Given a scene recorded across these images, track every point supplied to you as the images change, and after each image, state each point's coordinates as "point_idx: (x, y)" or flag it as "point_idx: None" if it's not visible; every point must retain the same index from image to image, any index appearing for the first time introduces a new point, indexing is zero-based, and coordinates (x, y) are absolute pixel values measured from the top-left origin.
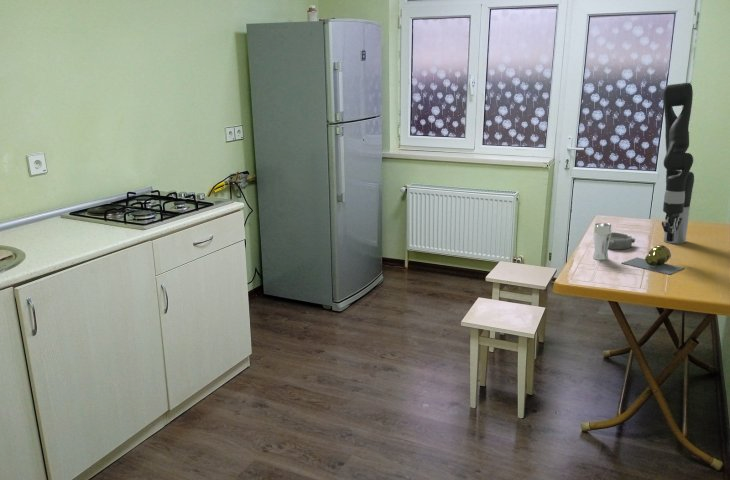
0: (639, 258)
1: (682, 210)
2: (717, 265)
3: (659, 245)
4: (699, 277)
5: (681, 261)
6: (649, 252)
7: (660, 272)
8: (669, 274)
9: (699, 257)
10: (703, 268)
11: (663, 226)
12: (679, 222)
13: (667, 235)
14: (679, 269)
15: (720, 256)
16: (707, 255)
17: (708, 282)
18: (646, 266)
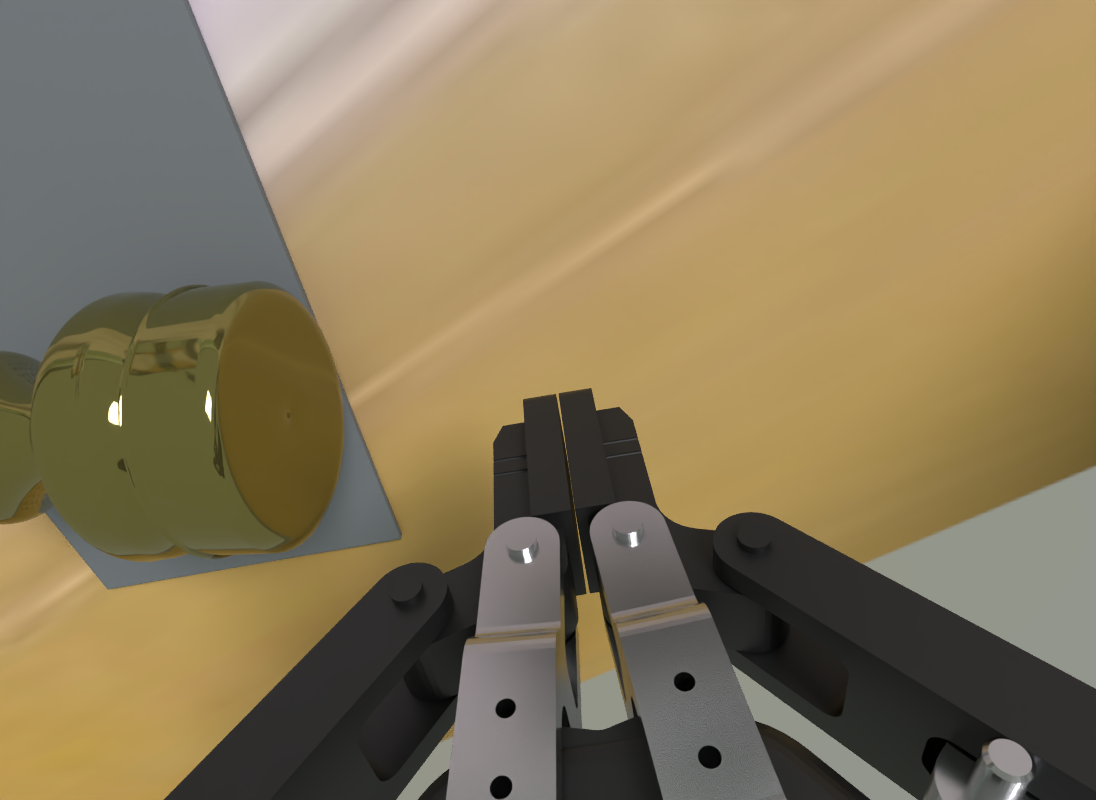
0: (161, 27)
1: None
2: None
3: (191, 478)
4: None
5: (603, 388)
6: (43, 365)
7: (59, 520)
8: (108, 584)
9: (906, 386)
10: None
11: (209, 784)
12: (923, 784)
13: (496, 504)
14: (311, 548)
15: (1077, 455)
16: (1046, 381)
17: None
18: (10, 350)
